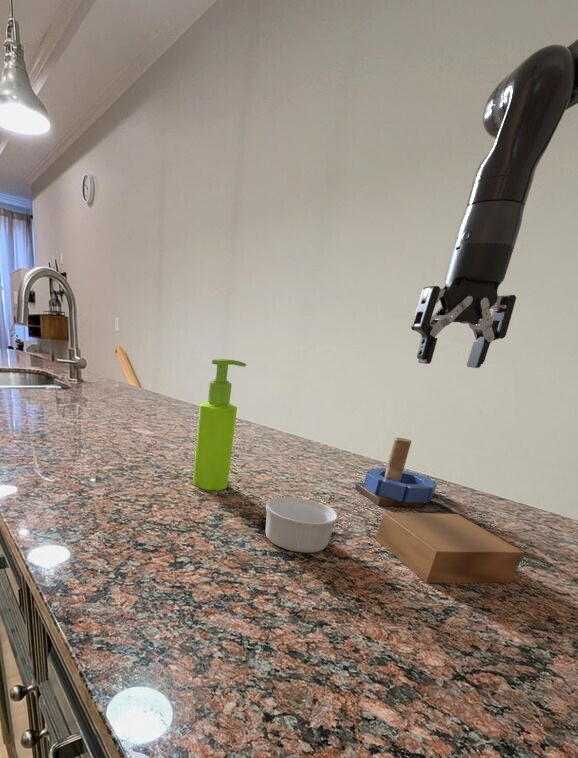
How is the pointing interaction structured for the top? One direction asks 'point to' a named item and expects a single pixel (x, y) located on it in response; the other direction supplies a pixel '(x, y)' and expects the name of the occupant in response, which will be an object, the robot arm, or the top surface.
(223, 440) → the soap dispenser
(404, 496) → the ring
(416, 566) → the platform
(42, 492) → the top surface
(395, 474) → the post
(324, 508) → the ramekin
